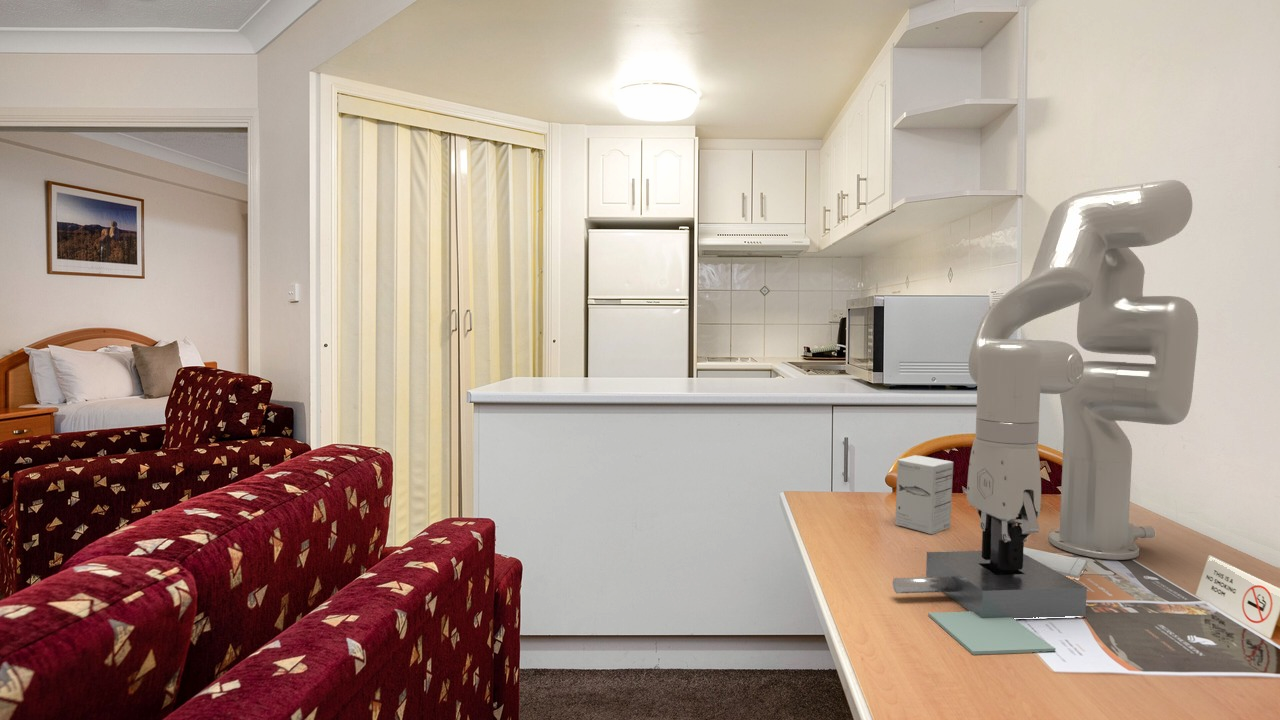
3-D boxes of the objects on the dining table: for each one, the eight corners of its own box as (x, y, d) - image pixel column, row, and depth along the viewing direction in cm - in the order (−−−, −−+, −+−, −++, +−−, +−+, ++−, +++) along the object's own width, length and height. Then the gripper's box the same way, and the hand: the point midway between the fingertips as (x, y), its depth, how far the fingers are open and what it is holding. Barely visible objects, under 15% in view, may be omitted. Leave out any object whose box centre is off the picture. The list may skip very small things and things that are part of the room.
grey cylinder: (982, 584, 93) (985, 495, 92) (1005, 583, 93) (1008, 494, 92) (996, 594, 90) (1000, 501, 89) (1020, 593, 90) (1024, 501, 89)
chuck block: (1015, 576, 99) (1016, 549, 99) (1085, 618, 85) (1086, 587, 85) (873, 579, 97) (874, 553, 97) (921, 623, 83) (922, 592, 83)
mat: (1001, 613, 86) (1001, 610, 86) (1055, 651, 76) (1055, 648, 76) (928, 615, 86) (928, 612, 86) (972, 654, 76) (972, 651, 76)
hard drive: (986, 554, 105) (1078, 573, 97) (999, 541, 112) (1087, 558, 103) (986, 564, 106) (1078, 584, 97) (999, 550, 112) (1087, 568, 103)
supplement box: (893, 525, 123) (895, 458, 123) (914, 518, 128) (916, 453, 127) (932, 535, 118) (934, 465, 117) (952, 527, 122) (954, 460, 121)
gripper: (948, 423, 98) (944, 544, 99) (1018, 444, 82) (1012, 588, 83) (996, 423, 99) (992, 543, 100) (1075, 443, 82) (1069, 587, 83)
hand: (1001, 562), depth 91 cm, fingers closed on grey cylinder, 3 cm apart
